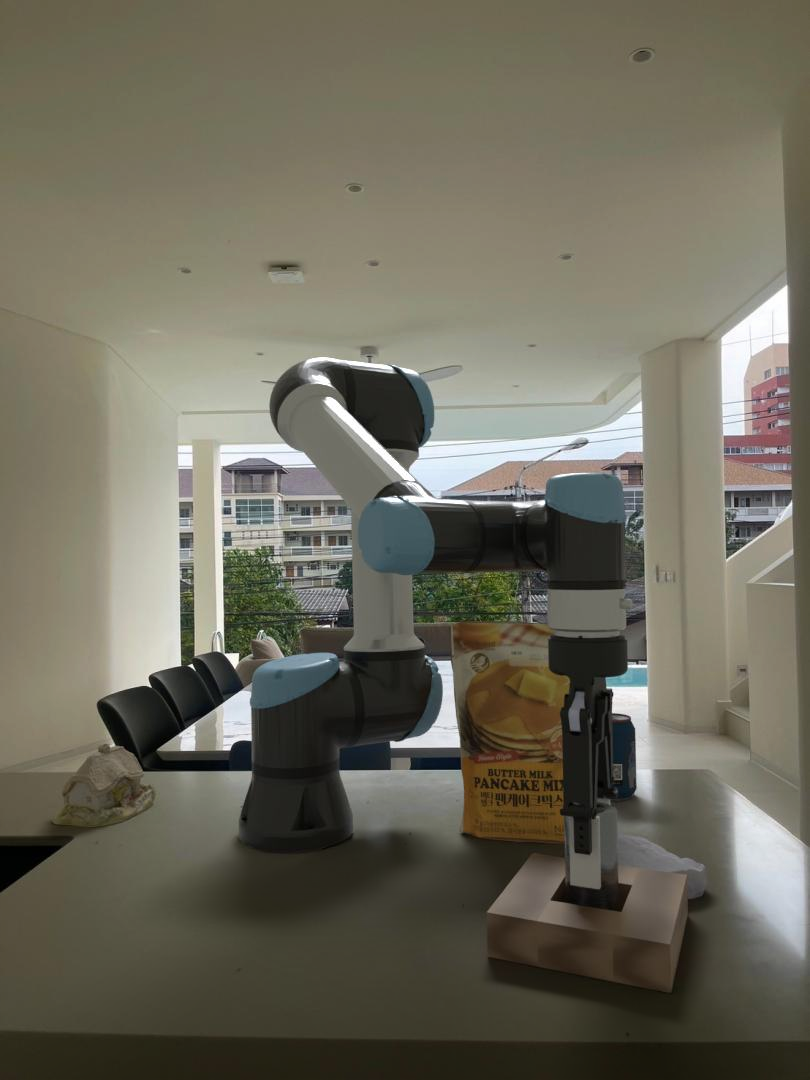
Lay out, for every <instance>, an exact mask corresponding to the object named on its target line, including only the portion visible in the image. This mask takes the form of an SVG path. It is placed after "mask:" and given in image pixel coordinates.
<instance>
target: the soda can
mask: <svg viewBox="0 0 810 1080" xmlns="http://www.w3.org/2000/svg"><path fill="white" fill-rule="evenodd" d="M612 737H613V777H614V783H613V786H610V788H617V789H618V797H617V798H613V797H606V799H610V802H611V801H613V802H614V801H615V802H616V801H617V802H619V801H627V800H630V799H632V798H633V796H634V795H635V792H636V791H637V788H638V787H637V752H636V751H637V749H636V747H637V746H636V745H637V743H636V728H635V726H634V723H633V721H632V717H631V716H630V715H628V714H625V713H624V714H623V713H615V712H612Z"/></svg>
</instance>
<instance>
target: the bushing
mask: <svg viewBox="0 0 810 1080" xmlns="http://www.w3.org/2000/svg"><path fill="white" fill-rule="evenodd" d="M597 812H598V813H597V816H600V857H601V887H600V889H593V888H587V887H580V886H574V885H570V837H569V816H564V836H565V844H564V858H565V885H566V903H569V904H575V905H581V906H587V907H593V908H599V909H605V910H612V911H616V910H617V909H618V908H619V880H618V835H619V834H618V809H617V808H616V807H615V806H614V805H612V804H610V805H609V804H606V803H601V802H597Z"/></svg>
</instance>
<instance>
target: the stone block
mask: <svg viewBox="0 0 810 1080" xmlns="http://www.w3.org/2000/svg"><path fill="white" fill-rule="evenodd" d="M618 865H621V866H628V867H635V868H642V869H649V870H656V871H664V872H671V873H678V874H685V875H687V900H692V899H697V898H700V897H702V896H703V895H704V892H705V890H706V887H707V886H708V876H707V870H706V867H705V865H704V864H703V863H700V862H696V860H693V859H692V858H689V857H683V858H681V857H679V856H678V855H676V854H674V853H671V852H669V851H667V850H666V848H663V847H662V846H660V845H659V844H657V843H654V842H652V841H650V840H649V839H647V838H644V837H641V836H639V835H625V834H621V833H620V834H618Z"/></svg>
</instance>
